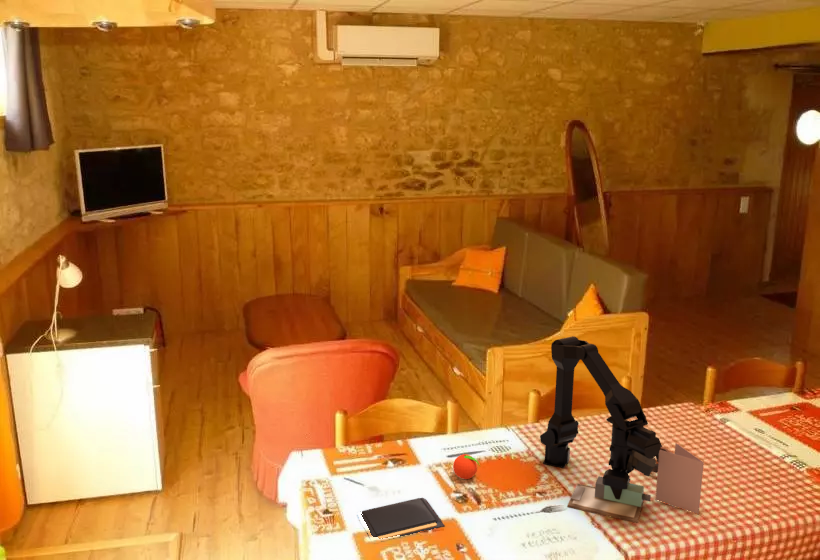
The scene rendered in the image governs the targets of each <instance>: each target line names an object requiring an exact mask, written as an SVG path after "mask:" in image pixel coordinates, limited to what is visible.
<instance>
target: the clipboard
mask: <svg viewBox="0 0 820 560" xmlns="http://www.w3.org/2000/svg"><path fill="white" fill-rule="evenodd" d="M643 501H645V500H643ZM643 501H642V505H641V507H638V506H634V505H629V504H625V503H620V502H616V501H611V500H607V499H602V498H598V497H595V486H592V485H591V486H590V485H587V484H581V483H577V484H576V486H575V488H574V490H573V492H572V494H571V496H570V499H569V501H568V503H567V508H571V509H574V510H579V511H583V512H588V513H592V514H597V515H600V514H601V515H600V516H605V515H606V517H609V516H611V517H610V518H613V517H615V518H614V519H618V518H619V519H618V520H622V521H623V520H624V521H626V520H627V522H631V523H635V522H636V523H635V524H638V523H639V522H638V521H639V519H640V514H641V512H640V511H642V508H643V504H644V502H643Z"/></svg>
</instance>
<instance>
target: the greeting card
mask: <svg viewBox="0 0 820 560" xmlns="http://www.w3.org/2000/svg"><path fill="white" fill-rule="evenodd" d="M673 453H674V454H673ZM657 464H658V472H657V475H656V476H657V477H656V487H655V489H656V490H655V501H657V500H659V501H658V502H660V501H662V502H661V503H663V502H665V503H664V504H666V503H668V504H667V505H669V504H670V505H669V506H672V505H673V506H672V507H675V506H676V507H675V508H678V507H679V508H678V509H681V508H682V510H684V509H685V510H684V511H687V510H688V511H687V512H690V511H691V512H690V513H693V512H694V513H693V514H696V513H697V514H696V515H699V514H700V505H701V494H702V487H703V486H702V485H703V475H704V464H705V463H704V461H703V460H701V459H699V458H698V457H697V456H695V455H694V454H692V453H691V452H689V451H688V450H687V449H685V448H684V447H683V446H682V445H680V444H678V443H676V442H675V446H674V452H672V453H669V452H666V451H662V450H660V451H659V462H658V463H657Z"/></svg>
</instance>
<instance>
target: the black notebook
mask: <svg viewBox="0 0 820 560" xmlns="http://www.w3.org/2000/svg"><path fill="white" fill-rule="evenodd" d="M431 505H432V504H430V502H429V501H428V500H427V499H426V498H424V497H418V498H414V499H409V500H404V501H400V502H395V503H391V504H386V505H382V506H377V507H375V508H370V509H365V510H362V514H363V515H362V514H361V515H362V517H363V519H364V521H365V522H366V524H367V526H368V528H369V530H370V533H371V535H372V536H373V537H378V538H379V539H381V538H382V539H383V538H388V537H393V536H397V535H400V536H403V537H405V536H404V535H408V536H411V535H410V534H412V535H414V534H413V533H416V534H419V533H418V532H420V531H424V530H428V531H431V529H432V530H435V529H434V528H436V529H440V528H444V527H446V525H445V524H444V523H443V521H442V519H441V517H440V516H439V515H438V514H437V512H436V511H435V509H434V508H433V507H432V506H431ZM424 532H425V531H424ZM420 533H421V532H420Z"/></svg>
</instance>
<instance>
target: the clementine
mask: <svg viewBox="0 0 820 560" xmlns="http://www.w3.org/2000/svg"><path fill="white" fill-rule="evenodd" d="M478 465H479V467H481V465H480V463H479V462H478V460H477V459H476V458H474V457H473V456H472V455H470V454H466V453H463V454H461V455H458V456H457V457H456V458H455V459H454V461H453V464H452V469H453V472H454V474H455V475H456V476H457V477H458V478H460V479H462V480H469V479H471V478H473V477H474V476H475V475H476V473H477V470H478Z"/></svg>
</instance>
